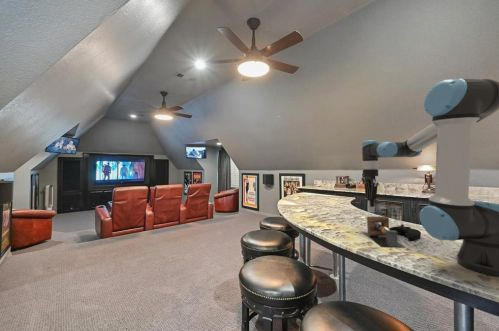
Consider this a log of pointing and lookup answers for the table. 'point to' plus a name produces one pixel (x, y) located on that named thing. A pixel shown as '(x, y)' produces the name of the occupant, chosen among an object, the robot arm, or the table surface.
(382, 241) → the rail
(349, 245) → the table surface
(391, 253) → the table surface
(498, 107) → the robot arm
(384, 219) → the collar
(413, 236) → the gaming controller
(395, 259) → the table surface
